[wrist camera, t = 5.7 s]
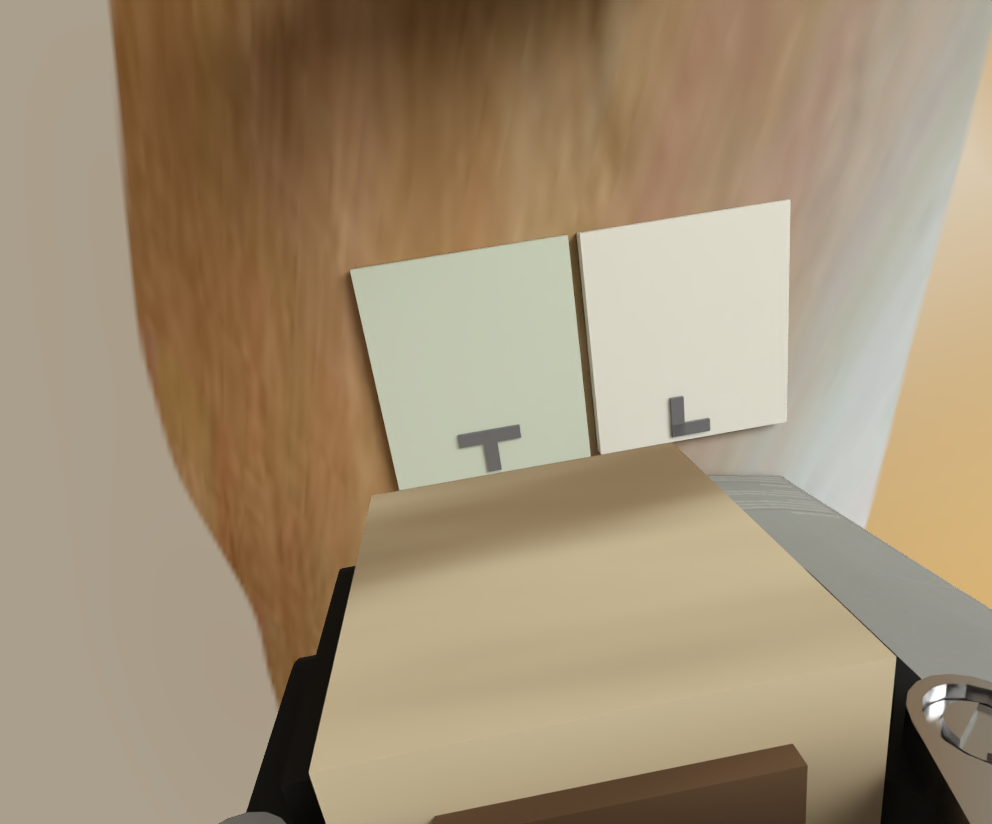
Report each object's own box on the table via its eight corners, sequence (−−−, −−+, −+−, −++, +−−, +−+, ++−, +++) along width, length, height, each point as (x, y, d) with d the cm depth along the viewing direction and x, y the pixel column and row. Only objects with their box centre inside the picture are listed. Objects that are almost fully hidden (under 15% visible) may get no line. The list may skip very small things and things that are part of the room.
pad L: (576, 233, 25) (580, 233, 24) (782, 199, 25) (792, 199, 24) (597, 449, 28) (602, 456, 27) (779, 417, 28) (788, 422, 28)
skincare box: (611, 581, 30) (782, 933, 15) (633, 453, 28) (855, 721, 13) (764, 583, 31) (1063, 917, 16) (796, 460, 29) (1174, 716, 14)
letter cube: (371, 495, 9) (302, 797, 5) (671, 442, 10) (916, 674, 5) (430, 738, 11) (426, 1150, 6) (684, 688, 11) (874, 1046, 6)
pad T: (351, 268, 24) (349, 270, 24) (564, 235, 25) (568, 235, 24) (400, 484, 28) (399, 492, 27) (587, 451, 28) (591, 457, 27)
